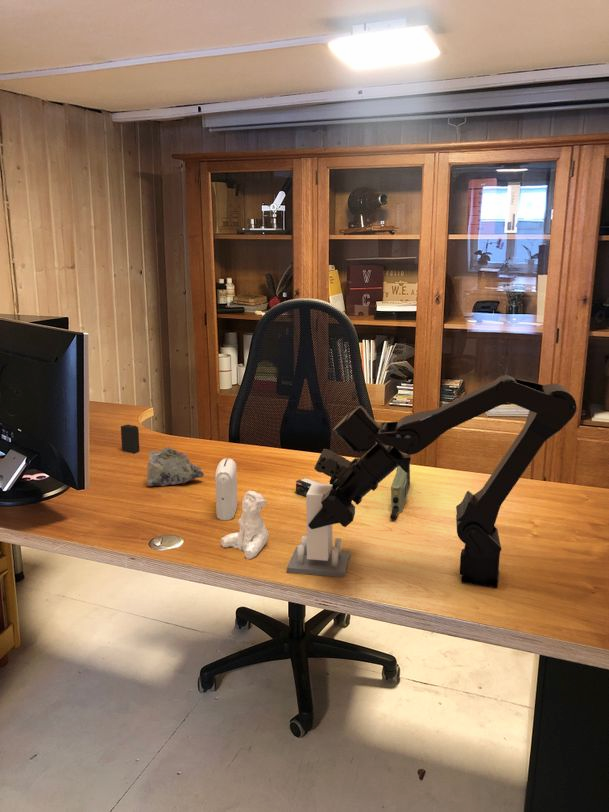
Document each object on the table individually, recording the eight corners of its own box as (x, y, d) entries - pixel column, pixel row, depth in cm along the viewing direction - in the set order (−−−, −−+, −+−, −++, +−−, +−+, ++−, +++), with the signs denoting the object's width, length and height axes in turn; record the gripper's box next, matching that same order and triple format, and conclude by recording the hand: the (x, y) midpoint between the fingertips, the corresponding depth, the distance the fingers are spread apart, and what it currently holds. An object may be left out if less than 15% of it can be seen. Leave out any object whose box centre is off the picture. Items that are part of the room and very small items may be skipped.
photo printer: (234, 520, 150) (232, 468, 147) (215, 520, 150) (213, 468, 147) (239, 503, 160) (237, 454, 157) (221, 503, 160) (219, 454, 157)
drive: (332, 546, 131) (332, 484, 128) (327, 560, 126) (327, 495, 122) (312, 545, 132) (312, 483, 129) (306, 559, 126) (306, 494, 123)
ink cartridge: (139, 451, 199) (138, 426, 197) (134, 454, 198) (133, 428, 196) (127, 449, 202) (126, 423, 200) (122, 451, 200) (120, 425, 198)
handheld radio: (411, 485, 172) (400, 523, 148) (398, 484, 173) (386, 522, 149) (411, 460, 170) (400, 495, 147) (398, 460, 171) (385, 494, 148)
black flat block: (334, 521, 150) (335, 504, 149) (262, 493, 168) (262, 477, 167) (376, 504, 160) (376, 488, 159) (304, 479, 178) (304, 464, 177)
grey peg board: (350, 555, 133) (350, 534, 132) (344, 577, 124) (345, 555, 123) (296, 551, 135) (296, 530, 134) (286, 572, 126) (286, 550, 125)
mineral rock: (206, 482, 174) (205, 445, 172) (180, 495, 165) (178, 456, 163) (167, 474, 180) (165, 438, 178) (140, 486, 171) (138, 449, 169)
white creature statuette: (218, 546, 137) (216, 491, 134) (249, 533, 143) (248, 480, 140) (249, 560, 131) (248, 503, 128) (280, 546, 137) (280, 491, 134)
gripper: (347, 424, 131) (293, 474, 136) (333, 453, 114) (271, 509, 118) (386, 464, 132) (331, 513, 137) (379, 499, 114) (315, 553, 119)
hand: (312, 520), depth 128 cm, fingers closed on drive, 6 cm apart
